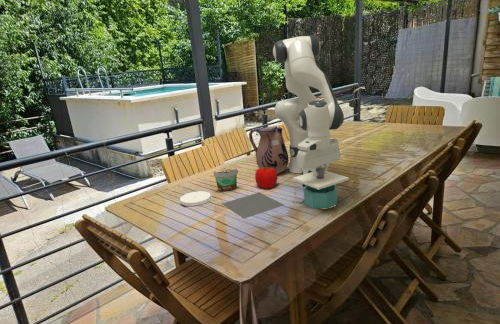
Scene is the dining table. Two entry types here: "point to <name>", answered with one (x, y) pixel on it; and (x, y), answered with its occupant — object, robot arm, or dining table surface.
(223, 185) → the food container
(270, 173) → the tomato
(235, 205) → the rubber mat
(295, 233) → the dining table surface
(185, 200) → the plastic lid
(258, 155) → the ceramic pitcher
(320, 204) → the teal octagonal bowl
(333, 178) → the cover board
